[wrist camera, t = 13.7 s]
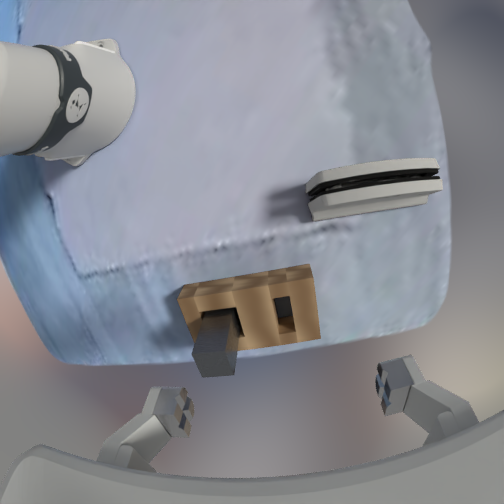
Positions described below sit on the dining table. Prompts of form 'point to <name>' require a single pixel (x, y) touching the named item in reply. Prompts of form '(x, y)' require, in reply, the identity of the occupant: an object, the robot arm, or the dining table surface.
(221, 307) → the socket block
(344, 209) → the grey piece
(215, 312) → the steel peg
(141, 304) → the dining table surface
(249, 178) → the dining table surface
